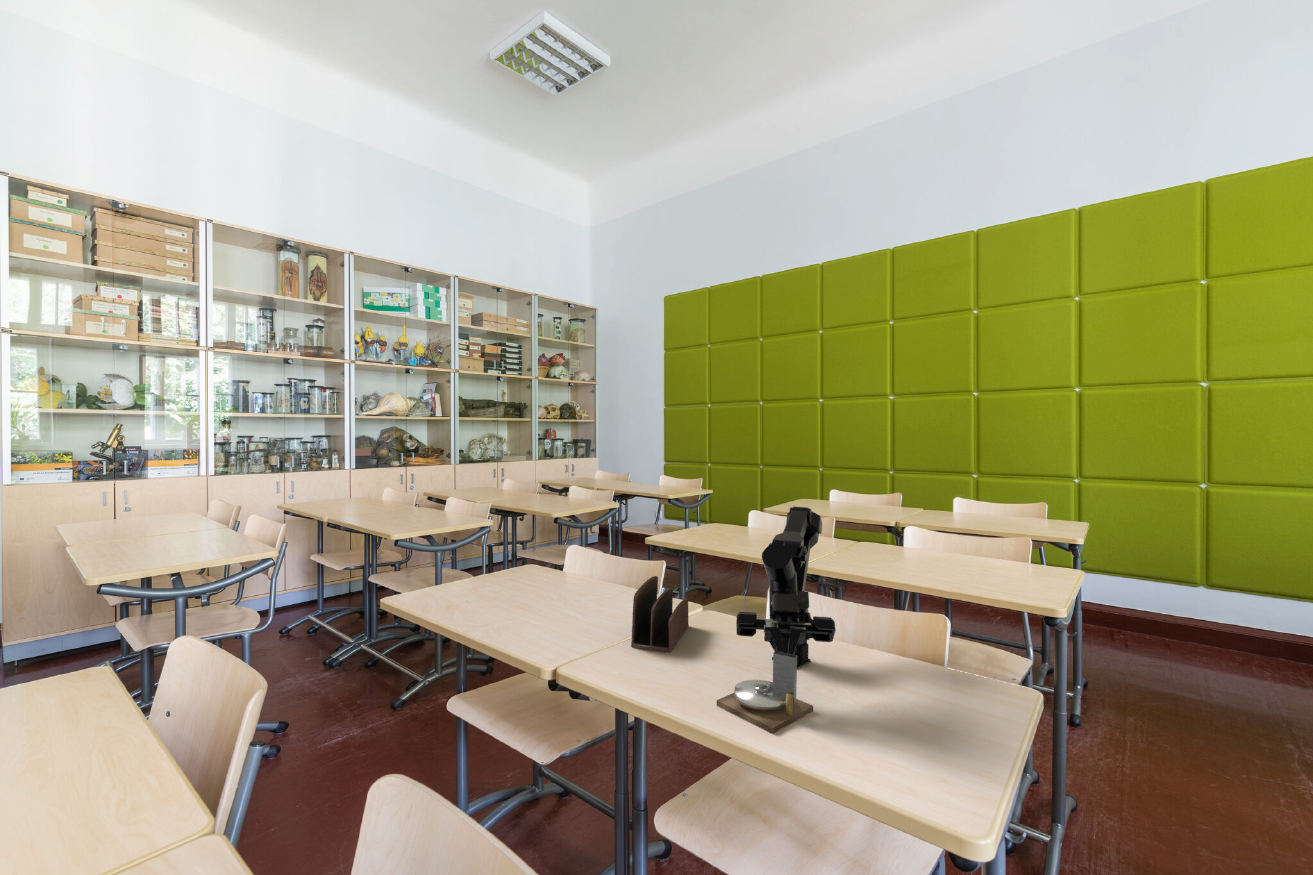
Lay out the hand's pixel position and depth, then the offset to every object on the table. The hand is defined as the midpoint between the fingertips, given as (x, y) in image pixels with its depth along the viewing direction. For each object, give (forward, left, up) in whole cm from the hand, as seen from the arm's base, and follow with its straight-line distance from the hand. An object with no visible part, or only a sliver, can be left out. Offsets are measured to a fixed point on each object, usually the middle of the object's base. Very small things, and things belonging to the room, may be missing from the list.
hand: (785, 670), depth 103 cm
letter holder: (-44, +8, -8) cm, 45 cm away
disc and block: (-3, -2, -6) cm, 7 cm away
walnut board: (-3, -2, -8) cm, 9 cm away
